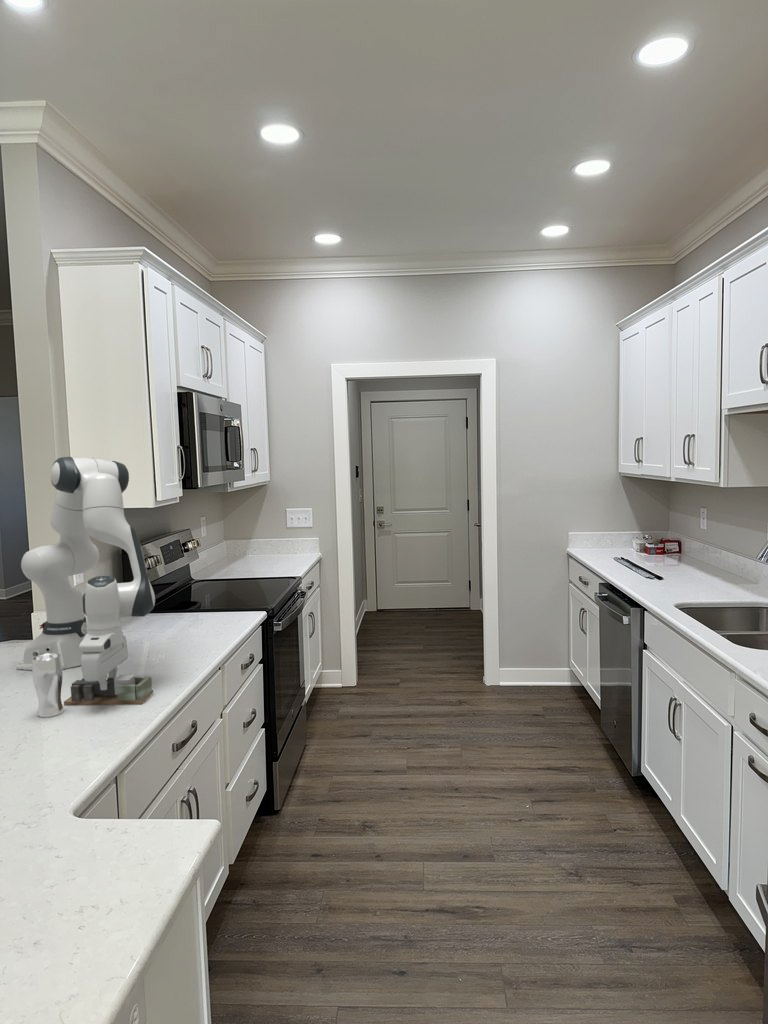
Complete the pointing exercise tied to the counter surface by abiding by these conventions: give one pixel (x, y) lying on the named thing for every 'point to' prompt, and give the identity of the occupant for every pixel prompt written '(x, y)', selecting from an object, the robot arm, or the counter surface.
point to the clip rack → (124, 694)
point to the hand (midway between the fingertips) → (108, 686)
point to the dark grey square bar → (112, 684)
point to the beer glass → (48, 683)
